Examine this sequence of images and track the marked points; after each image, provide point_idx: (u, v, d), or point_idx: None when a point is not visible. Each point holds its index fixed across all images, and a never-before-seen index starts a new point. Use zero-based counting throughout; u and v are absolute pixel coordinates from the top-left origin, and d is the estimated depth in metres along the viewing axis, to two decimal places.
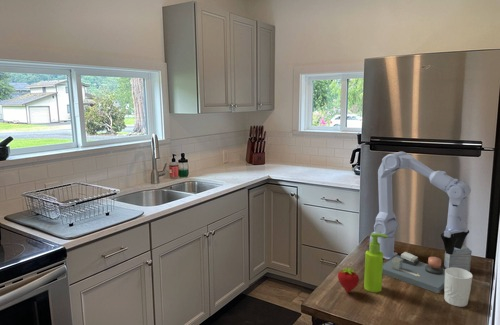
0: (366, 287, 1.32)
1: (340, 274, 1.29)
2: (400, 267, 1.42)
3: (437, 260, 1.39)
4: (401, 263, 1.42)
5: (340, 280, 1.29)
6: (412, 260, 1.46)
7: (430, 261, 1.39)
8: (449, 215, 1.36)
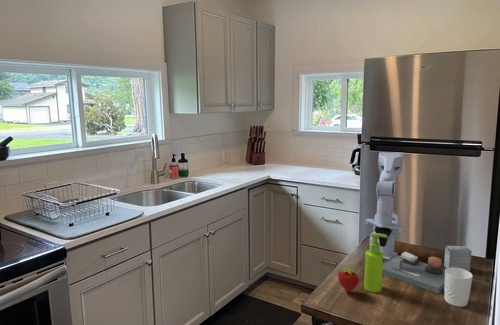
0: (366, 287, 1.32)
1: (340, 274, 1.29)
2: (400, 267, 1.42)
3: (437, 260, 1.39)
4: (401, 263, 1.42)
5: (340, 280, 1.29)
6: (412, 260, 1.46)
7: (430, 261, 1.39)
8: None
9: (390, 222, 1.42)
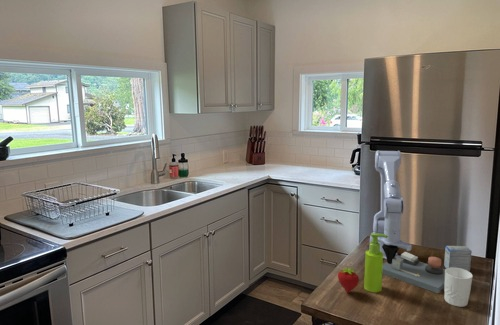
0: (366, 287, 1.32)
1: (340, 274, 1.29)
2: (400, 267, 1.41)
3: (437, 260, 1.39)
4: (401, 263, 1.42)
5: (340, 280, 1.29)
6: (412, 260, 1.46)
7: (430, 261, 1.39)
8: None
9: (398, 239, 1.41)
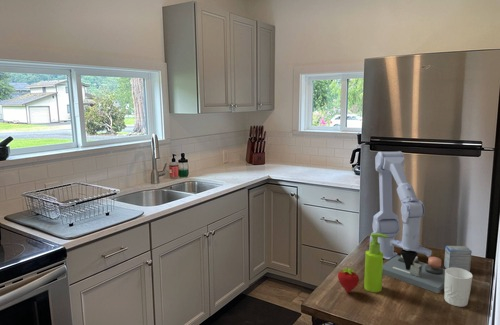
0: (366, 287, 1.32)
1: (340, 274, 1.29)
2: (419, 273, 1.37)
3: (437, 260, 1.39)
4: (420, 269, 1.37)
5: (340, 280, 1.29)
6: None
7: (430, 261, 1.39)
8: None
9: (417, 245, 1.36)
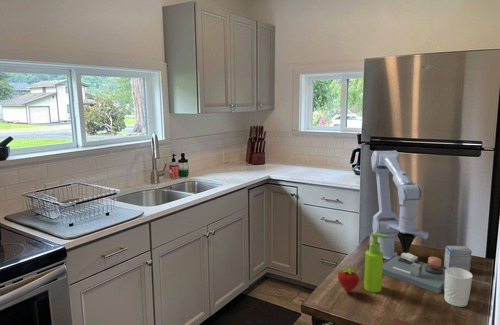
0: (366, 287, 1.32)
1: (340, 274, 1.29)
2: (419, 273, 1.37)
3: (437, 260, 1.39)
4: (420, 269, 1.37)
5: (340, 280, 1.29)
6: (412, 260, 1.46)
7: (430, 261, 1.39)
8: None
9: (414, 228, 1.36)
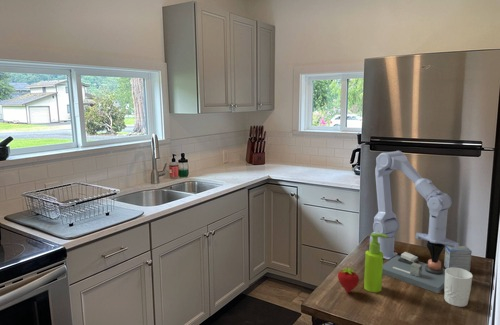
0: (366, 287, 1.32)
1: (340, 274, 1.29)
2: (419, 273, 1.37)
3: (437, 262, 1.40)
4: (420, 269, 1.37)
5: (340, 280, 1.29)
6: (412, 260, 1.46)
7: (430, 264, 1.40)
8: None
9: (444, 237, 1.36)
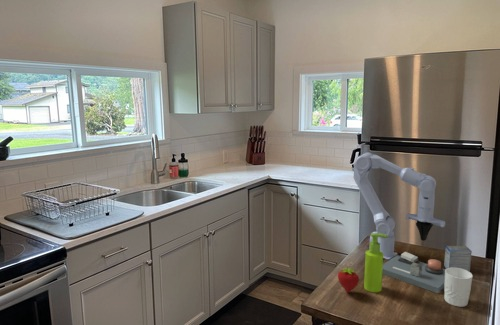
0: (366, 287, 1.32)
1: (340, 274, 1.29)
2: (419, 273, 1.37)
3: (437, 262, 1.40)
4: (420, 269, 1.37)
5: (340, 280, 1.29)
6: (412, 260, 1.46)
7: (430, 264, 1.40)
8: None
9: (431, 217, 1.47)
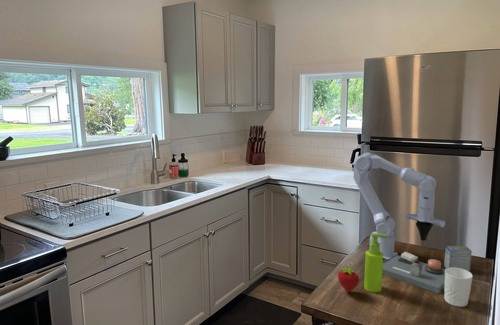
0: (366, 287, 1.32)
1: (340, 274, 1.29)
2: (419, 273, 1.37)
3: (437, 262, 1.40)
4: (420, 269, 1.37)
5: (340, 280, 1.29)
6: (412, 260, 1.46)
7: (430, 264, 1.40)
8: None
9: (431, 217, 1.47)
